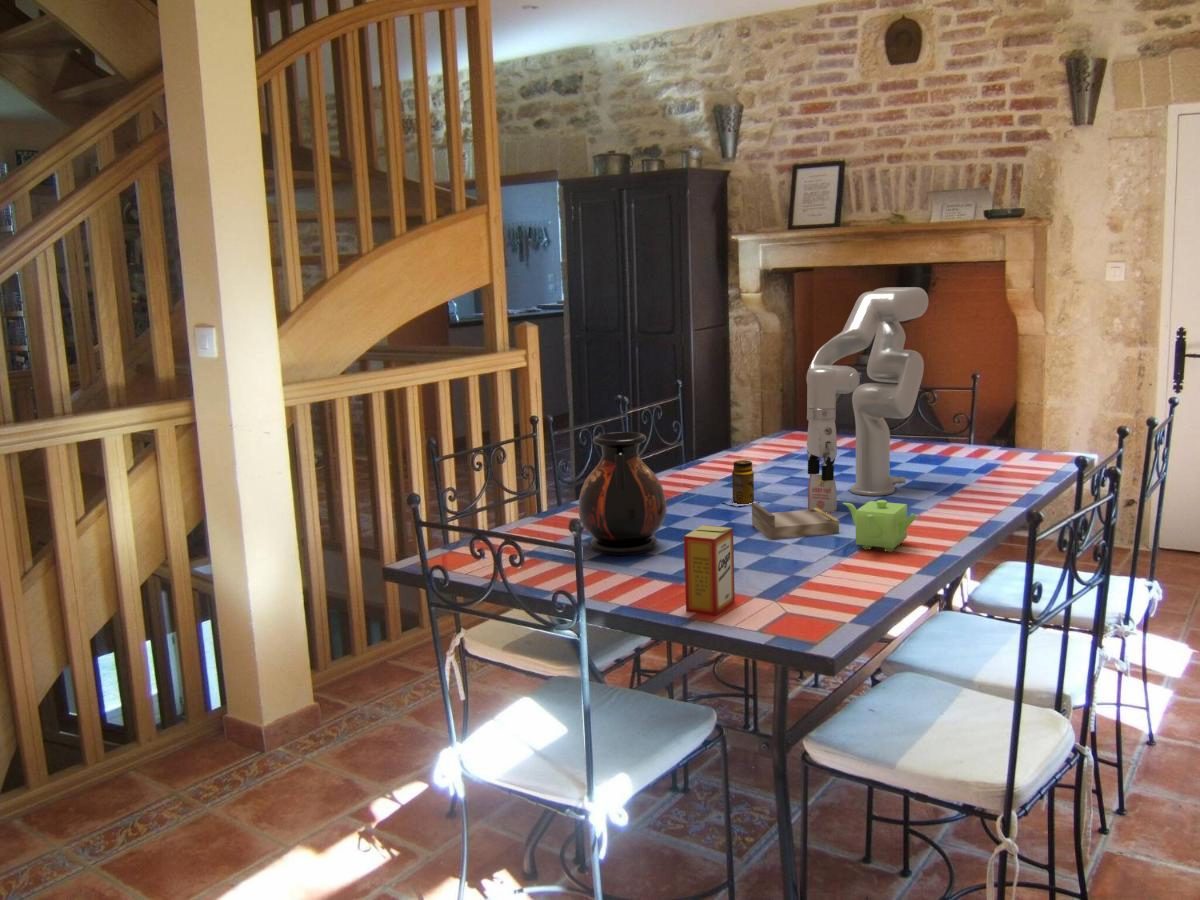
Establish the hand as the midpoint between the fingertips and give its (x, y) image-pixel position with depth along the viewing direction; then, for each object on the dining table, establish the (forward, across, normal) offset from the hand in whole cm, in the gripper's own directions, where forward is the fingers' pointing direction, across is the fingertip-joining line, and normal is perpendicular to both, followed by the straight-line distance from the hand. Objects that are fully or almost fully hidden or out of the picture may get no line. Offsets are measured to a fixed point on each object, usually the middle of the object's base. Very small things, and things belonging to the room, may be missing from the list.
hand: (820, 477), depth 282 cm
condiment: (+10, +17, +17) cm, 26 cm away
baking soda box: (+12, -65, +50) cm, 83 cm away
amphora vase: (+12, -17, +58) cm, 62 cm away
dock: (+10, -15, +13) cm, 23 cm away
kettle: (+10, -36, 0) cm, 38 cm away
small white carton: (+10, +1, -1) cm, 10 cm away
